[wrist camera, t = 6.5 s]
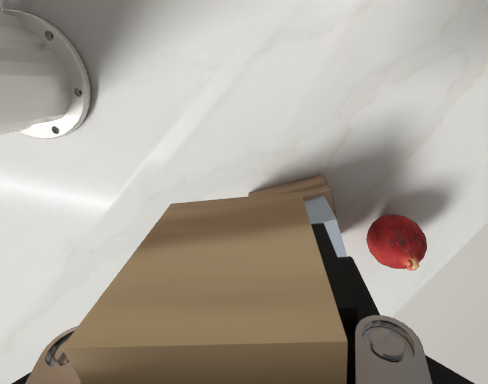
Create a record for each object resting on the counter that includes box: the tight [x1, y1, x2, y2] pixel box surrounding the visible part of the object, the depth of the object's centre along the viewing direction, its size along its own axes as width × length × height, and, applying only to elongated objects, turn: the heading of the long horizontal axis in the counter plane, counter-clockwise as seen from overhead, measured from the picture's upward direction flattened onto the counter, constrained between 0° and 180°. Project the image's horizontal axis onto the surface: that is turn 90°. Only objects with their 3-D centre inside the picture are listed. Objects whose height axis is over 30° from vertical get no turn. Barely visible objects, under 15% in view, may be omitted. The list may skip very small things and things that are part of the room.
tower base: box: [248, 174, 338, 223], centre depth 31 cm, size 9×9×5 cm
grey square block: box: [304, 195, 347, 257], centre depth 27 cm, size 8×8×5 cm
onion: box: [366, 215, 427, 270], centre depth 29 cm, size 6×6×8 cm
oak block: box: [62, 192, 348, 384], centre depth 8 cm, size 5×5×6 cm
